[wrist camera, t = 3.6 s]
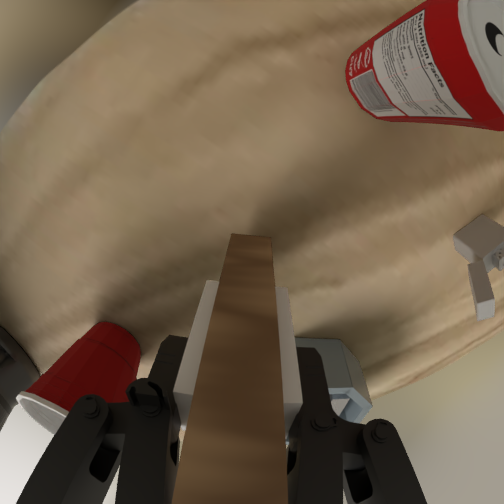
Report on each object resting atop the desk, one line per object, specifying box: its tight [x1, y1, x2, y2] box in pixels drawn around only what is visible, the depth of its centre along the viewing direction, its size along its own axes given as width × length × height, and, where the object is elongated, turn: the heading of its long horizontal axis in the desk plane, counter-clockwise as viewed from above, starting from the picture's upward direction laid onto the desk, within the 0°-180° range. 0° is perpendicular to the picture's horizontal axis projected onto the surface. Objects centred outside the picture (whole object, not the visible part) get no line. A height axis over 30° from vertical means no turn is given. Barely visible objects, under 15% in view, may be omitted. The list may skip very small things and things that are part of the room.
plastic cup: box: [16, 322, 141, 435], centre depth 19 cm, size 11×11×12 cm
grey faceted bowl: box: [286, 338, 372, 445], centre depth 22 cm, size 11×11×6 cm
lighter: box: [453, 214, 504, 321], centre depth 14 cm, size 7×2×8 cm, turn 123°
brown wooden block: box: [172, 234, 288, 504], centre depth 10 cm, size 2×4×16 cm, turn 175°
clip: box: [329, 394, 350, 416], centre depth 22 cm, size 6×5×4 cm
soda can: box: [345, 0, 504, 131], centre depth 8 cm, size 6×6×12 cm
